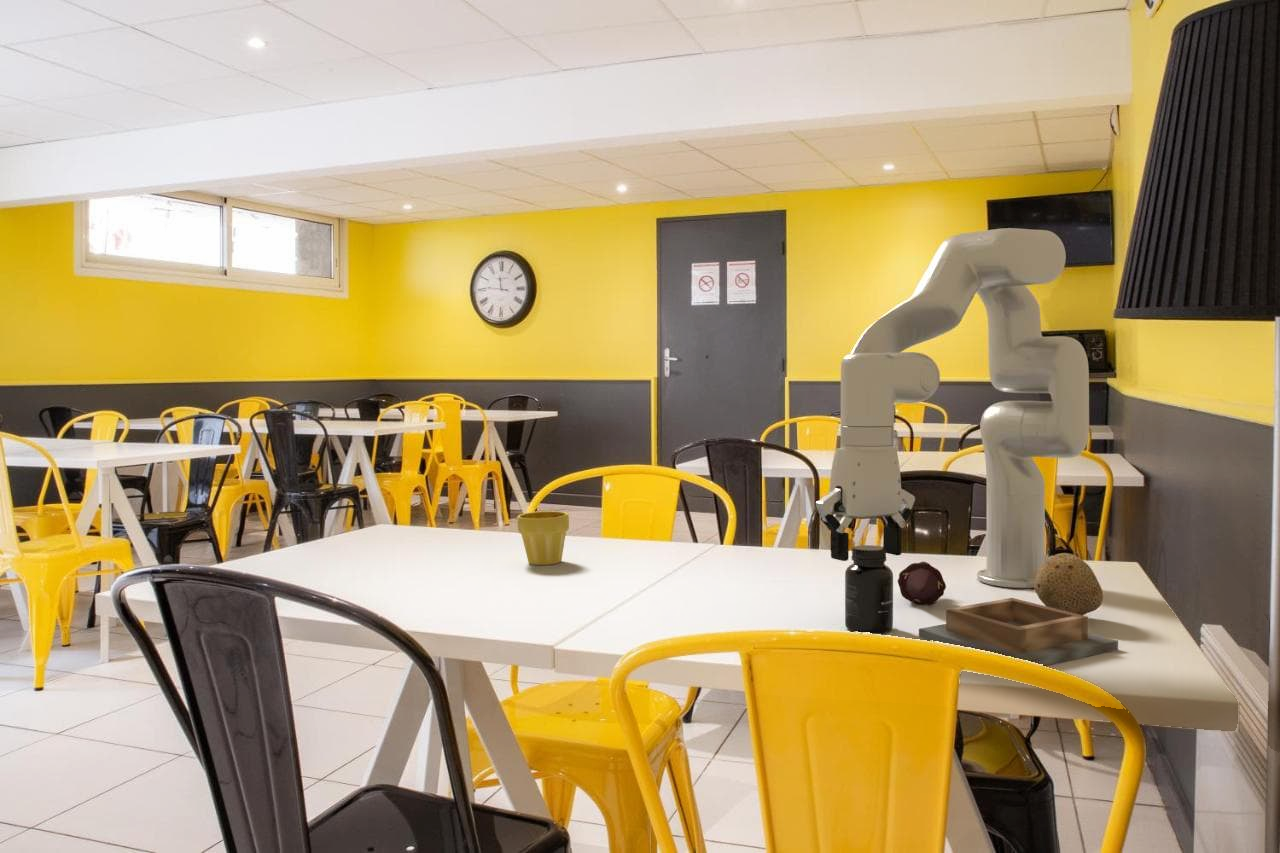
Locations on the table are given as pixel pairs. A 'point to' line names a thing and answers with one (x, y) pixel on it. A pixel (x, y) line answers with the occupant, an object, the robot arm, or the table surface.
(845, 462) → the robot arm
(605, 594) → the table surface
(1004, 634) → the collar board
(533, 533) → the plant pot
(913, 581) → the icecream
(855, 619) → the supplement bottle
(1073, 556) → the natural sponge
